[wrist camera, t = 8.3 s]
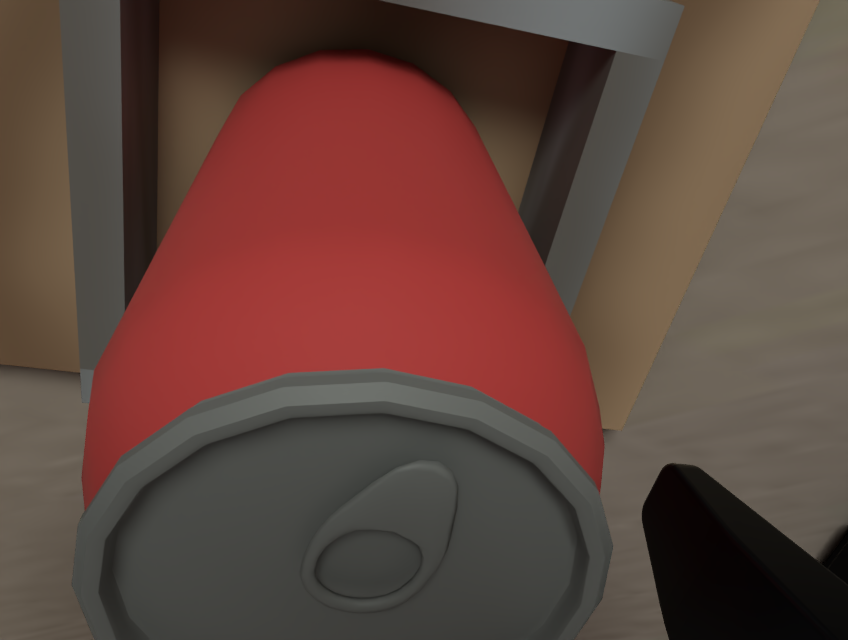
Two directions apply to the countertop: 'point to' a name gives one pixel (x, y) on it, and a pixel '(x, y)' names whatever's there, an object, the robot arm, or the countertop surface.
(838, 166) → the countertop surface
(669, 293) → the can holder
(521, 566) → the beer can
